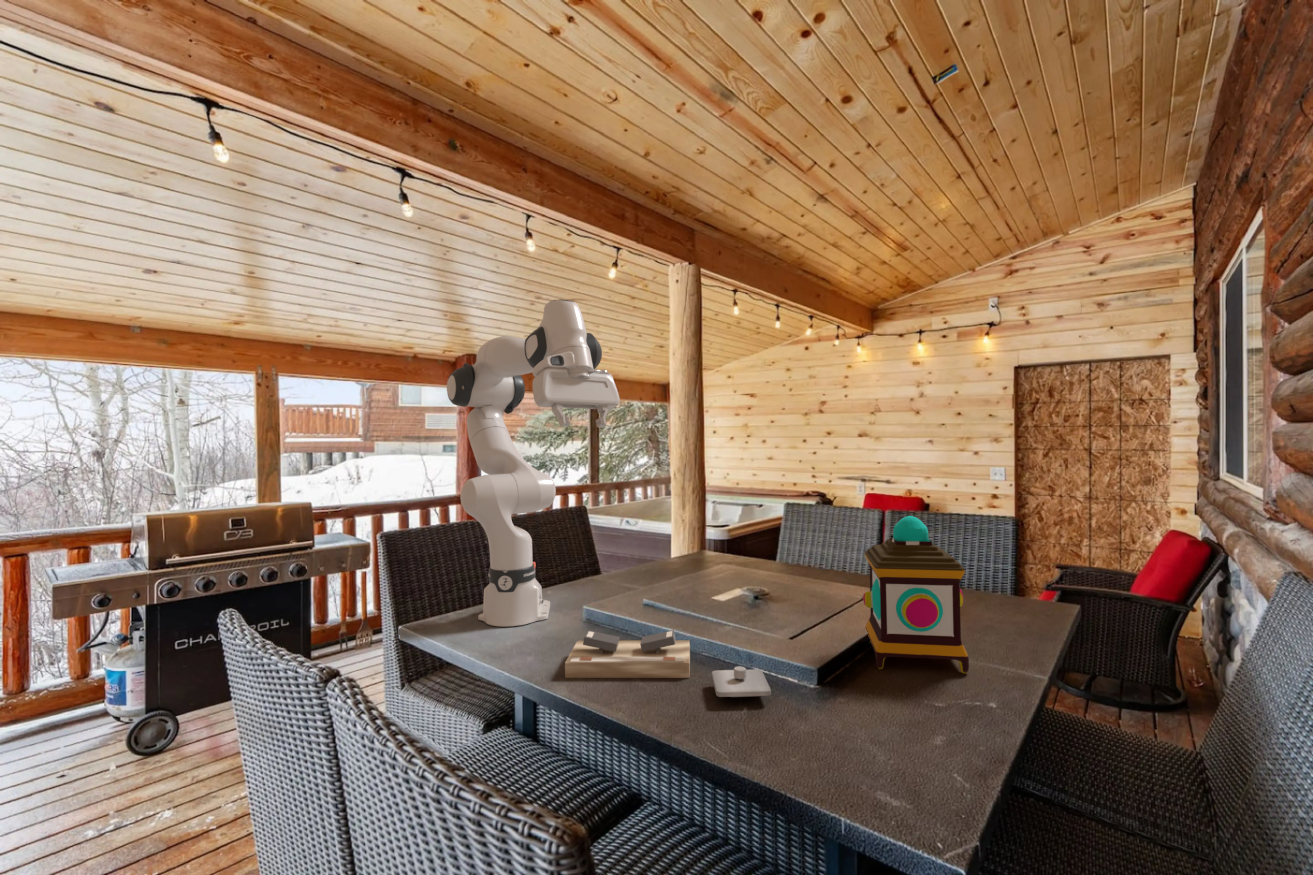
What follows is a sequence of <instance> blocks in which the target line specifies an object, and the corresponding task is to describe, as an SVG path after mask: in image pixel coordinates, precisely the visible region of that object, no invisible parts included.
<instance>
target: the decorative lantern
mask: <svg viewBox="0 0 1313 875" xmlns="http://www.w3.org/2000/svg"><path fill="white" fill-rule="evenodd" d="M864 556H865V558H866V560H867V563H868V565H869V566H868V567H869V591H865V592H864V593H863V596H862V600H863V601H862V602H863V604H864V606H865V607H866V608H869V610H870V616H869V618H868V620H867V622H866V623H865V624H866V625H865V627H864V629H865V628H866V630H867V632H868V637H869V639H870V642H869V643H870V644H871V646H872V648H873V651H874V656H875V665H876V668H878V670H882V669H883V668H884V663H885V659H886V658H888V657H891V658H892V657H893V658H907V659H908V658H909V659H910V658H913V659H929V660H930V659H933V660H951V661H954V660H955V661H958V665H959V670H960V672H961V673H962V674H967V673H968V672H969V667H970V663H969V662H970V659H969V655H968V652H967V650H966V648H965V646H964V644H963V641H962V633H961V631H962V630H961V627H962V626H961V623H962V622H961V607H962V606H963V604H964V594H963V591H962V589H961V580H962V578H963V577H964V574H965V572H966V569H965V567H964V566H963V565H961V563H960V562H959V561H958V560H956V559H955V558H954V557H953V556H952V555H950V554H949V553H948V552H947V551H945V550H944V549H943V548H941V547H940V546H939V545H936V544H934V543H933V541H932V540H931V539H930V538H929V530H928V527H927V526H926V524H924V522H923V521H922V520H921V519H919V518H918V517H916V516H912V515H908V516H904V517H903V518H901V519H900V520H898V522H897V523H896V524H895V525H894V527H893V530H892V535H890V538H887V539H886V540H885V541H884V542H881V544H873V545H872V546H871V547H868V548H867V550H866V551H864Z"/></svg>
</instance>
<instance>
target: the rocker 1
mask: <svg viewBox="0 0 1313 875" xmlns="http://www.w3.org/2000/svg"><path fill="white" fill-rule="evenodd" d="M583 641H584V642H583V645H586V646H591V647H596V648H601V649H605V650H610V651H615V652H616V650H617V647H618V644H619V641H620V636H618V635H612V634H608V633H603V632H598V631H594V630H587V632H586V633H585V635H584V637H583Z"/></svg>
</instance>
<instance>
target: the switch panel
mask: <svg viewBox="0 0 1313 875" xmlns="http://www.w3.org/2000/svg"><path fill="white" fill-rule="evenodd" d="M583 642H584V640H577V641H576V642H575V645H574V646H573V648H572V650H571V651H570V652H569V655H568V657H567V658H566V660H565V662H564V678H565V679H576V678H577V679H587V678H588V679H592V678H593V679H596V678H597V679H598V678H599V679H607V678H608V679H653V678H654V679H663V678H664V679H690V677H691V676H690V672H691V671H690V668H691V645H690V643H691V642H690V640H689V639H688V640H682V639H681V640H680V639H679V640H678V639H675V645H671V646H666V647H661V648H657V649H652V650H647V651H643V652H642V649H641V645H640V643H641V640H619V644H618V647H617V650H616V652H615V651H610V650H605V649H601V648H596V647H591V646H586V645H583Z"/></svg>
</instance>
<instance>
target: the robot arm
mask: <svg viewBox="0 0 1313 875" xmlns="http://www.w3.org/2000/svg"><path fill="white" fill-rule="evenodd" d="M579 306H580V305H578V303H577V302H575V301H573V300H570V299H564V298H563V299H562V298H561V299H553V300H550V301H549V302H547V303H545V305H544V307H543V316H542V320H541V321H540V323H539V326H538V327H537V328H536V329H535V330H533V331H532V332H531V333H529V335H527V337H526V338H521V337H517V336H512V335H509V336H508V335H502V336H499V337H493V338H492V339H490V340H488V341H486V342H485V343H484V344H482V345H481V346H480V347H479V349H478V350H477V354H476V358H475V359H476V360H475V363H474V364H469V363H468V362H466V363H464V364H463V365H462V366H461V367H459V368H456V369H455V370H453V372H452V373H450V374H449V375H448V378H447V382H446V393H447V397H448V400H449V401H450V402H451V403H452V404H453V405H456V406H458V407H463V408H465V407H470V408H473V409H472V410H470V411H469V413H468V414H467V417H466V431H467V437H468V440H469V443H470V446H471V449H472V452H473V456H474V459H475V461H476V465H477V467H478V468H479V469H480V471H482V472H483V473H485V474H484V475H479V476H475V477H472V478H469V479H467V480H466V481H465V482H464V484H463V486H462V488H461V490H460V495H459V496H460V497H459V498H460V503H461V507H462V508H463V510H464V512H466V514H468V515H469V516H471V517H472V518H474V519H475V520H476V521H477V522H479V524H480V525H481V527H482V528H483V530H484V532H485V534H486V538H487V540H488V541H487V542H488V549H489V563H490V566H489V568H488V573H487V574H488V581H489V584H488V585H487V586H485V587H484V590H483V609H482V613H480V614H478V616H477V617H478V618H477V620H479V621H483V622H484V623H486V624H487V625H490V626H494V627H515V626H516V627H518V626H524V625H527V624H532V623H534V622H539V621H544V620H547V619H549V614H550V608H551V601H550V600H547V599H543V591H542V590H543V588H542V585H541V583H539V581H538V580H537V579H536V575H537V574H536V561H533V560H534V559H533V539H532V536H531V535H530V534H531V533H529V532H528V531H526V530H525V529H523V528H522V527H519V526H516V525H514V522H513V521H512V515H518V514H519V515H520V514H528V513H535V512H538V511H539V512H540V511H541V510H544V509H548V508H550V507H551V506H552V504H553V503H554V501H555V498H556V494H557V493H556V492H557V489H556V484H555V482H554V480H553V478H552V477H551V476H550V475H549V474H547V473H545V472H543V471H540V470H538V469H536V468H535V467H533V466H532V465H531V464H530V463H528V462H527V460H525V459H524V458H523V457H522V456H521V455H520V453H519V452H518V451H517V449H516V447H515V444H514V442H513V440H512V438H511V435H510V432H509V429H508V427H507V426H506V423H505V420H504V413H505V414H507V415H508V414H512V413H513V412H514V409H516V408H517V407H518V406H519V405H520V404H521V403H522V401H523V400H524V397H525V393H526V384H525V381H524V378H523V375H527V374H532V376H533V377H534V378H533V380H532V394H533V399H534V400H533V401H534V403H535V404H536V406H538V407H540V408H551V412H552V413H553V414H554V416H555V417H556V418H557V420H558V424H559V427H560V428H561V427H565V428H566V427H568V426H570V417H569V416H566V414H564V411H562V409H582V410H583V409H585V410H586V409H587V410H588V409H589V410H597V414H599V417H598V418H597V419H595V425H596V428H605V427H606V426H607V420H606V417H607V414H608V411H610V410H613V409H614V408H617V406H619V404H620V401H621V399H620V395H619V391H618V389H617V385H616V382H615V380H614V377H613V375H612V374H611V373H610V372H608V371H607V370H606V369H597V367H598V366H600V363H601V361H602V357H603V351H602V350H603V349H602V346H601V344H600V342H599V341H598V339H597V338H596V336H594V334H592V333H591V332H587V328H586V324H585V319H584V316H583V313H582V311H581V308H580V307H579Z"/></svg>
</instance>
